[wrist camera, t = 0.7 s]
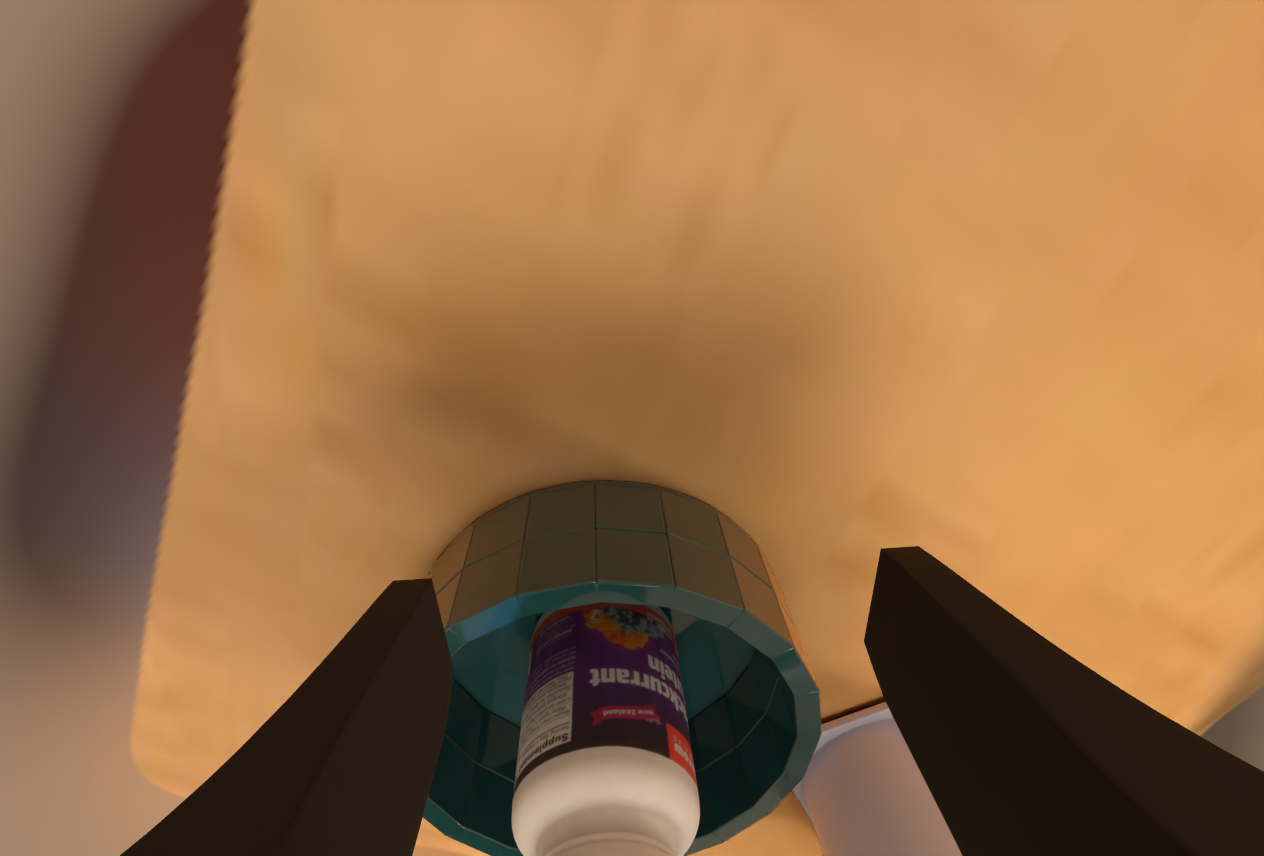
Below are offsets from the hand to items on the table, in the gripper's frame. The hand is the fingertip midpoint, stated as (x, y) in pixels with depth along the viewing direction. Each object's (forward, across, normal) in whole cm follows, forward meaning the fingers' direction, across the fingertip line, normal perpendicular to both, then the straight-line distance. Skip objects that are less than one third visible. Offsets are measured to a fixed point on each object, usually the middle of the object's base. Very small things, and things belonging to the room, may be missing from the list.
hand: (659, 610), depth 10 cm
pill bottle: (+10, +1, +11) cm, 15 cm away
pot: (+10, +1, +11) cm, 15 cm away
